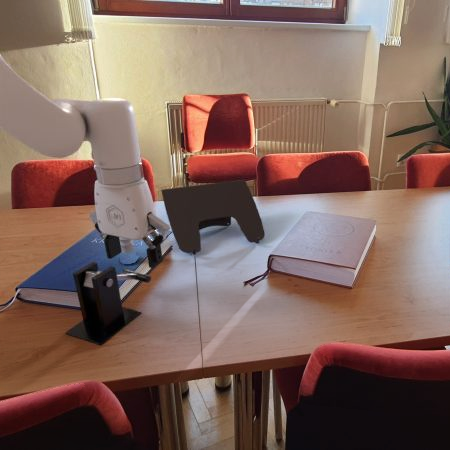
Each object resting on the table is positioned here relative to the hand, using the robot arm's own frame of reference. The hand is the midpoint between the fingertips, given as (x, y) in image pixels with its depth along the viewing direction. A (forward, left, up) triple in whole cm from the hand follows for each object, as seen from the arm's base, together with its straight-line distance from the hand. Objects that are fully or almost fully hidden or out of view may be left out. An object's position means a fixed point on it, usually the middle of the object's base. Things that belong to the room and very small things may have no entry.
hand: (135, 260), depth 84 cm
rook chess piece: (-12, +11, -9) cm, 19 cm away
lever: (0, -6, -2) cm, 6 cm away
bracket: (0, -9, -9) cm, 13 cm away
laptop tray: (-2, +32, -9) cm, 33 cm away
